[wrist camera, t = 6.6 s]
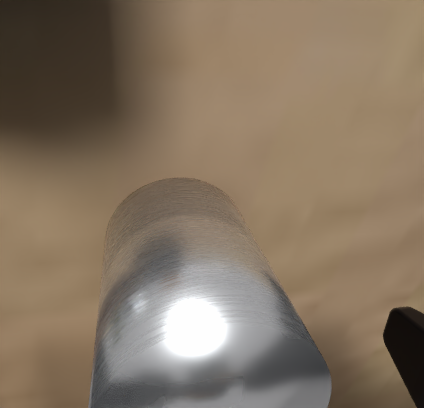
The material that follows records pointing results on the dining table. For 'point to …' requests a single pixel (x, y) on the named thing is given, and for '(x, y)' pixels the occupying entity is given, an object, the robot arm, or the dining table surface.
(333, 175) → the dining table surface
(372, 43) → the dining table surface
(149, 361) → the billet
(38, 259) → the dining table surface
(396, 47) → the dining table surface
